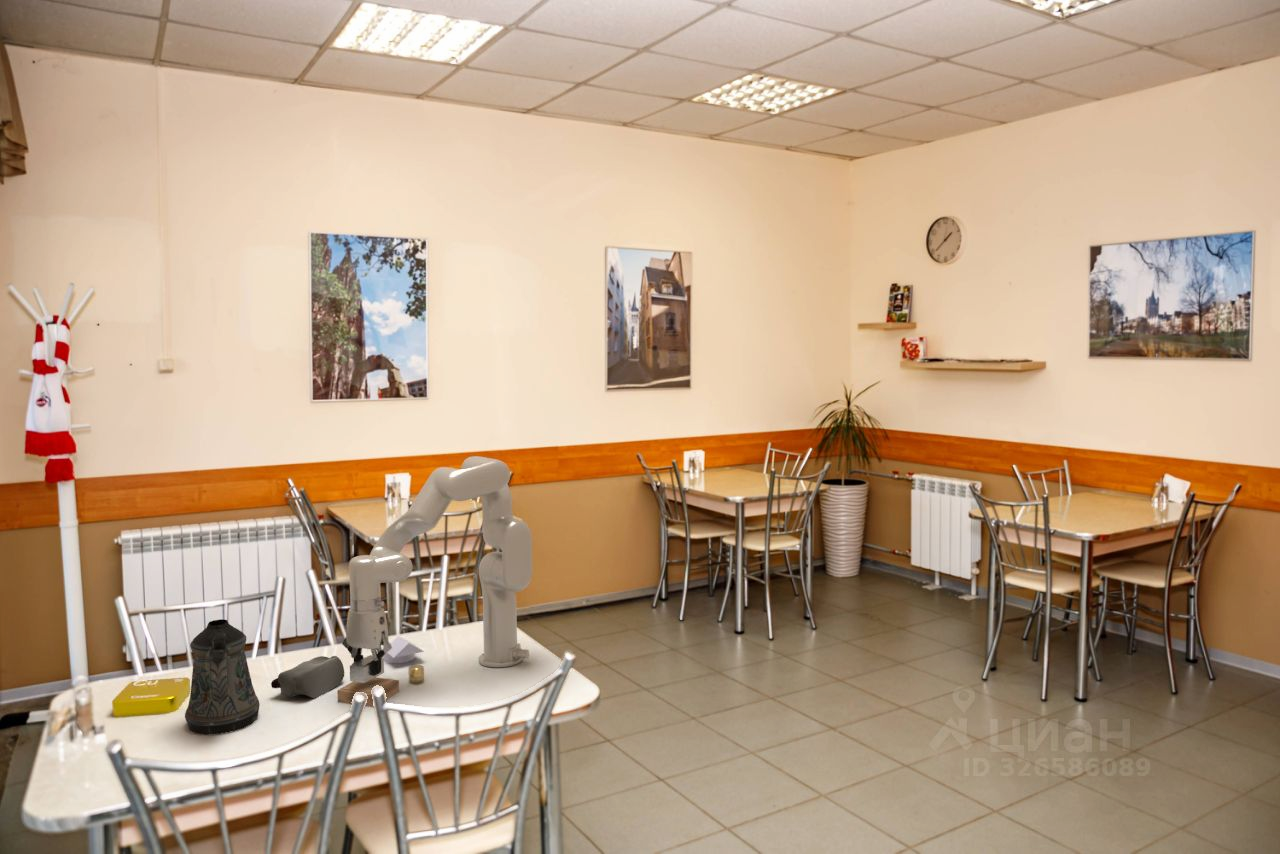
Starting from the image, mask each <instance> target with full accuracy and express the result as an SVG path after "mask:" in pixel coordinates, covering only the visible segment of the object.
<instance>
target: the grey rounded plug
mask: <svg viewBox="0 0 1280 854" xmlns="http://www.w3.org/2000/svg"><path fill="white" fill-rule="evenodd" d="M344 677H345V668H344V665H343V662H342V660H341V659H340V658H339V656H337V655H333V656H331V657H327V656H324V655H323V656H322V655H321V656H317V657H314V658H311V659H309V660H307V661H303V662H301V663H299V664H297V665H296V666H295V667H292V668H290V669H287V670H285V671H281V672H280V673H279V674H278V676H277V677H276V678H274V679H273V680H271V683H270V685H271V688H272V689H280V696H281V697H283V698H292V697H296V696H300V695H305V696H307V697H309V698H312V699H317V697H318V698H319V696H320V697H321V695H322V696H324V695H325V694H327V693H328V692H330V691H332V690H333V689H334V688H336V687H338V686H339V685H341V684H342V682H343V680H344Z"/></svg>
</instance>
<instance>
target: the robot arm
mask: <svg viewBox="0 0 1280 854" xmlns="http://www.w3.org/2000/svg"><path fill="white" fill-rule="evenodd" d="M510 477H511V471H510V469H509V466H508V465H507V464H506V463H505V462H504V461H502V460H499V459H496V458H490V457H485V456H478V455H477V456H476V455H474V456H469V457H467V458H466V459H464V461H463V462H462V464H461V469H459V468H453V467H448V466H440V467H437V468H436V469H435V470H433V472H432V473H430V475H429V477H428V478H427V480H426V481H425V483H424V485H423V486H422V488H421V489H420V491H419V492H418V494H417V496H416V497H415V499H414V500H413V502H412V504H411V505H410V506H409V508H408V510H407V511H406V512H405V513H404V514H402V515H401V516H400V517H398V518H397V519H396V520H394V522H393V523H391V524H390V525H389V526H388V527H387V528H386V529H385V530H384V532H383V533H382V534H381V535H380V537H379V538H378V540H377V541H376V542H375V545H373V548H372V550H371V551H370V554H369V555H368V554H364V555H357V556H355V557H352V558H351V559H350V560H349V563H348V570H349V571H348V572H349V574H348V575H349V595H350V596H349V597H350V598H349V599H350V600H349V601H350V602H349V603H350V605H349V607H350V608H349V609H348V613H347V618H346V630H345V631H346V636H345V638H344V639H343V641H342V642H341V643H342V646H343V647H344V648H346V649H347V651H348V653H349V654H350V656H351V659H353V663H355V662H357V661H359V660H361V659H363V658H365V657H364V655H363V654H362V653H363V650H370V652H371V655H372V656H373V661H372V662H371V667H372V676H375V675H377V674H379V673H381V658H383V656H384V655H385V654H386V653H387V652H388V651H389V650H391V649H392V646H391V644H390V643H391V642H390V641H389V630H388V629H389V627H388V621H387V616H386V611H385V609H384V608H383V607H384V606H385V601H383V600H382V597H381V594H382V593H381V583H400V582H404V581H405V580H407V579H408V578H409V577H410V576H411V574H412V571H413V568H414V567H413V563H412V560H411V559H410V558H409V557H408V556H407V555H405V554H403V553H401V552H402V550H403V549H404V548H405V546H406V545H407V544H408V543H409V542H410V541H411V540H413V539H414V538H416V537H417V536H420V535H423V534H425V533H428V532H430V531H432V530H434V529H435V528H436V526H437V525H438V524H439V522H440V520H441V518H442V517H443V515H444V514H445V512H446V510H447V509H448V508H449V506H450V504H451V503H452V501H455V502H465V501H469V500H473V499H476V498H479V497H480V500H481V501H480V502H481V510H482V512H481V513H482V514H481V515H482V516H481V517H482V536H483V541H484V543H485V544H486V545H488V546H489V547H491V548H493V549H496V550H499V551H491V552H490V551H489V552H488V553H487V554H485V555H484V556H483V557H482V558H481V560H480V562H479V565H478V576H479V582H480V587H481V593H482V594H481V595H482V596H481V597H482V620H483V621H482V623H483V626H482V627H483V631H482V632H483V653H481V654H480V655H479V657H478V663H479V664H480V665H482V666H484V667H489V668H505V667H512V666H515V665H518V664H519V663H521V662H522V661H523V660H524V659H526V660H527V659H529V657H530V651H529V649H525V648H524V649H523V648H521V645H522V644H521V643H518V623H517V621H518V618H517V615H518V614H517V595H516V592H521V591H523V590H525V589H527V588H528V586H529V585H530V582H531V580H532V577H533V576H532V575H533V535H532V532H531V530H530V528H529V526H528V524H527V523H526V522H525V521H523V520H521V519H519V518H515V517H514V511H513V510H514V508H513V500H512V499H513V498H512V492H511V489H510V487H509V484H508V483H509V480H510ZM382 646H383V647H384V648H383V647H382Z"/></svg>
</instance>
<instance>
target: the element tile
mask: <svg viewBox="0 0 1280 854" xmlns="http://www.w3.org/2000/svg"><path fill="white" fill-rule="evenodd" d="M190 692H191V680H190V678H189V677H173V678H164V679H163V678H161V679H149V680H148V679H141V680H135V681H131V682H130V683H128V684H127V685H126V686H125V687H124V688H123V689H122V690H121V691H120V692H119V693H118V694H117V695H116V696H115V697H114V698H113V699H112V701H111V702H112V703H111V705H112V715H113V716H112V717H114V718H126V717H138V716H150V715H163V714H165V715H166V714H171V712H172V713H175V712H177V711H178V710H179V709H180V708H181V706H183V704H184V703H185V702H186V700H187V699H188V697H190V695H189V694H191V693H190ZM186 698H187V699H186ZM185 699H186V700H185ZM183 702H184V703H183ZM182 703H183V704H182ZM179 707H180V708H179ZM176 710H177V711H176ZM174 711H175V712H174Z"/></svg>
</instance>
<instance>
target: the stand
mask: <svg viewBox="0 0 1280 854" xmlns="http://www.w3.org/2000/svg"><path fill="white" fill-rule="evenodd" d="M376 685H379V686H382V687H383V688H384V690H385V693H386V697H387V699H386V700H388V699H389V698H391V697H392V696H394V695H396V694H398V692H400V680H399V679H391V678H382V677H378V676H377V677H375V678H373V679H371V680H369V681H367V682H365V683H360V682H354V681H350V683H348V684H346V685H345V686H342V687H341V688H339V689H337V702H338V703H344V704H351V702H352V699H353V696H354V694H355V693H356V692H364V693H366V694H367V696H368V699H367V703H366V707H372V708H373V707H374V706H373V699H372V694H371V690H372V688H373V687H374V686H376ZM374 708H375V707H374Z"/></svg>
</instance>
